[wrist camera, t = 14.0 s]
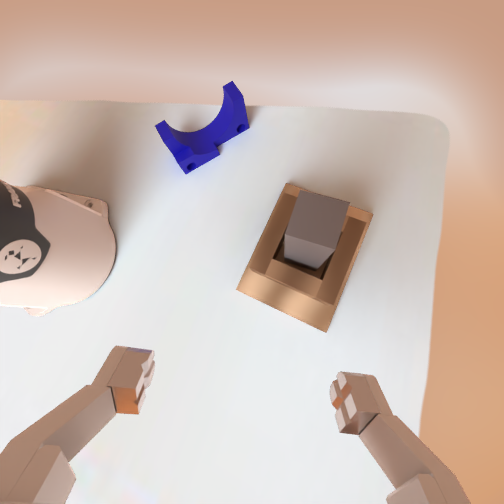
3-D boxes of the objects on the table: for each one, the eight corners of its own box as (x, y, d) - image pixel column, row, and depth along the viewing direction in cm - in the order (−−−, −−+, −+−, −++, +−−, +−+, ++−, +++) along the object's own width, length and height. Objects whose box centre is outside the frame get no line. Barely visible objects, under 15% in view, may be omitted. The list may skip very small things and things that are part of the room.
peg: (284, 261, 30) (284, 234, 19) (293, 232, 31) (300, 189, 19) (315, 271, 30) (335, 249, 18) (324, 242, 30) (349, 202, 19)
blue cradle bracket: (186, 175, 36) (168, 150, 31) (174, 153, 38) (154, 125, 32) (254, 135, 36) (248, 103, 31) (240, 115, 38) (232, 80, 32)
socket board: (237, 290, 31) (229, 287, 27) (286, 186, 34) (286, 168, 29) (324, 331, 29) (332, 336, 24) (370, 216, 31) (385, 202, 27)
